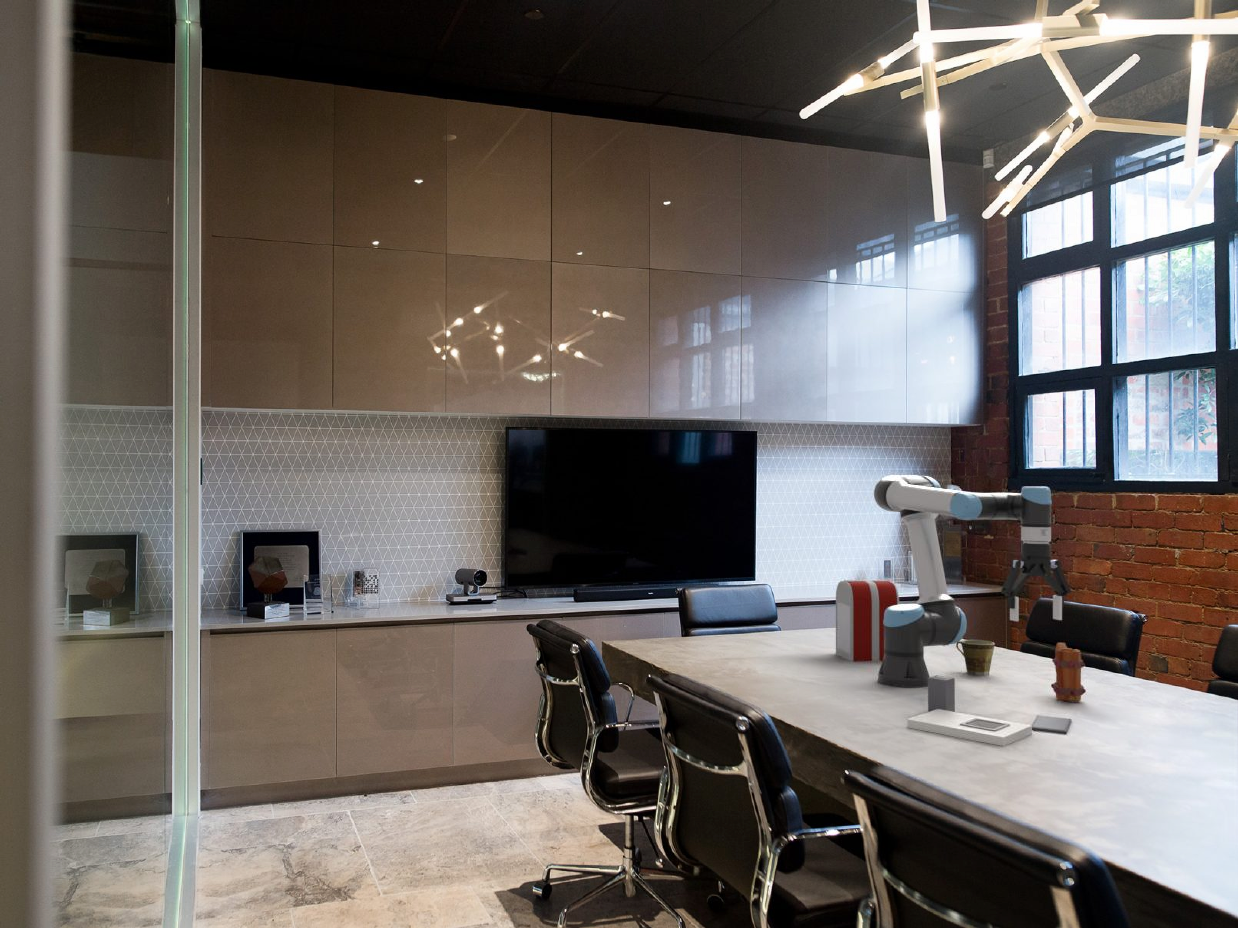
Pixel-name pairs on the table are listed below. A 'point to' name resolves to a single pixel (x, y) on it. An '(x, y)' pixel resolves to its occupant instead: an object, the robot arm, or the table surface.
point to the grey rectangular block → (941, 693)
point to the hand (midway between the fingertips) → (1035, 620)
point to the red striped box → (862, 618)
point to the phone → (1051, 724)
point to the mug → (1068, 674)
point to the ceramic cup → (977, 656)
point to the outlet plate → (970, 727)
